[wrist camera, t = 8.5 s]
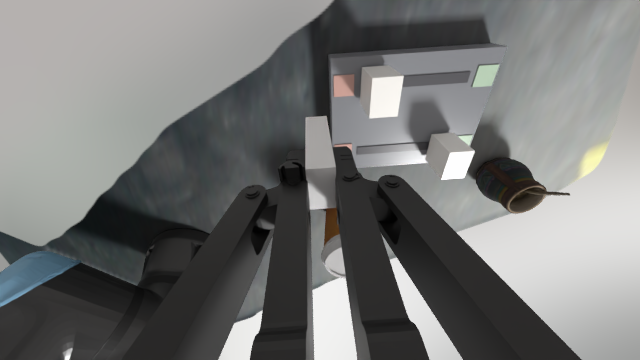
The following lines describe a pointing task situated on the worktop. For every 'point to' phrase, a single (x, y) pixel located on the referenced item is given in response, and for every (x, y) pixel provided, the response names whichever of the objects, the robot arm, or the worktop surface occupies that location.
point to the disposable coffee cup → (333, 245)
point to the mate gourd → (511, 185)
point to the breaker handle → (449, 155)
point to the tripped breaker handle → (380, 91)
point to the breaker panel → (412, 100)
